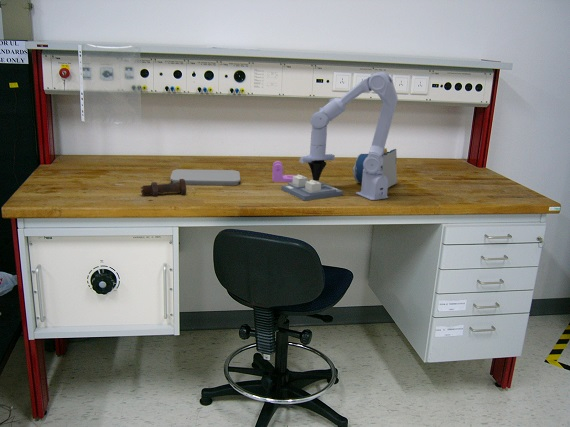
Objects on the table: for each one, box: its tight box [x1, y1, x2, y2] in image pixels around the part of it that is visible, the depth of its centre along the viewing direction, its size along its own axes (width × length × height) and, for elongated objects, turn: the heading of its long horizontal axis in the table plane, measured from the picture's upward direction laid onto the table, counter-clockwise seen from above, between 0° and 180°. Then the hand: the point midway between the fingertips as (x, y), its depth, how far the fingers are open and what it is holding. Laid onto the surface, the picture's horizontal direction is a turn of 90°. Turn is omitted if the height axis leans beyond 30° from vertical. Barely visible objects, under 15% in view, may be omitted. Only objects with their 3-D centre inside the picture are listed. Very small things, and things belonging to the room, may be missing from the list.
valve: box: [351, 147, 398, 189], centre depth 221 cm, size 13×15×15 cm
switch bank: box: [280, 179, 344, 202], centre depth 208 cm, size 15×17×2 cm
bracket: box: [271, 160, 298, 183], centre depth 222 cm, size 13×6×7 cm, turn 93°
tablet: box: [170, 168, 241, 186], centre depth 218 cm, size 16×26×2 cm, turn 97°
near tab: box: [305, 179, 321, 192], centre depth 203 cm, size 4×4×4 cm
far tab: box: [291, 173, 309, 186], centre depth 209 cm, size 4×4×4 cm
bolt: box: [140, 179, 187, 197], centre depth 197 cm, size 6×5×15 cm
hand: (315, 180), depth 213 cm, fingers closed
